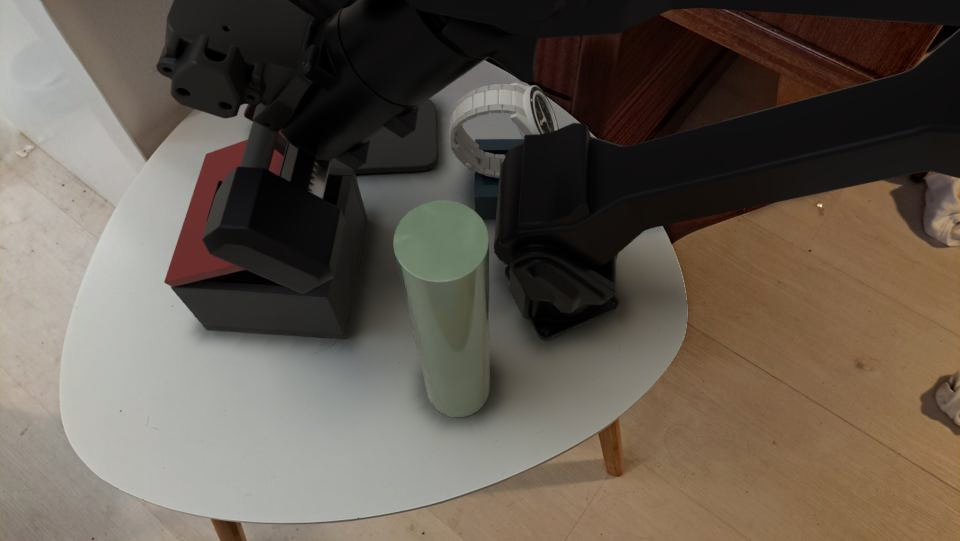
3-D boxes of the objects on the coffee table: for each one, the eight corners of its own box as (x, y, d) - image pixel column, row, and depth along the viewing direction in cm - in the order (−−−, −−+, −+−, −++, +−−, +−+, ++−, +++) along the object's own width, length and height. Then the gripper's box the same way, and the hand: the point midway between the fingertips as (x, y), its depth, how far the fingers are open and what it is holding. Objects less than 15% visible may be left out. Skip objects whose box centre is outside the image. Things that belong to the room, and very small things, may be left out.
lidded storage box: (367, 218, 57) (353, 167, 52) (345, 339, 52) (327, 298, 47) (239, 211, 58) (211, 159, 52) (205, 329, 53) (170, 287, 47)
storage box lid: (334, 117, 47) (289, 74, 44) (302, 256, 42) (249, 219, 39) (213, 159, 52) (164, 122, 49) (172, 287, 47) (115, 256, 44)
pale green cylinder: (474, 348, 52) (465, 186, 34) (500, 402, 50) (505, 259, 33) (417, 372, 51) (378, 219, 34) (441, 428, 49) (414, 296, 32)
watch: (554, 219, 57) (567, 128, 48) (452, 219, 57) (445, 128, 48) (551, 162, 60) (563, 65, 50) (454, 162, 60) (447, 65, 50)
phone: (437, 165, 59) (251, 174, 58) (438, 171, 60) (254, 180, 59) (435, 96, 62) (260, 104, 62) (435, 102, 63) (262, 110, 63)
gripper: (281, -191, 34) (149, -9, 44) (167, 117, 25) (36, 255, 35) (455, -40, 41) (305, 88, 51) (414, 247, 32) (242, 332, 42)
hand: (233, 176), depth 44 cm, fingers open, 9 cm apart
